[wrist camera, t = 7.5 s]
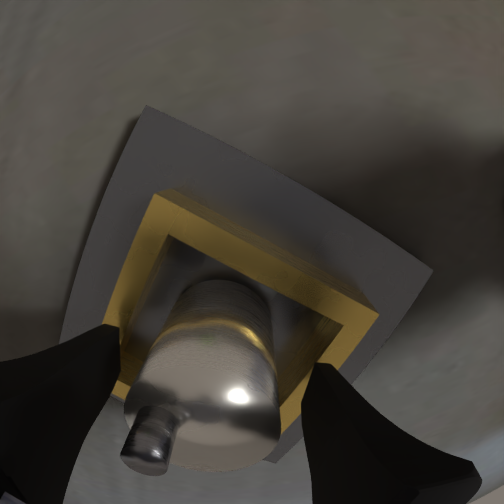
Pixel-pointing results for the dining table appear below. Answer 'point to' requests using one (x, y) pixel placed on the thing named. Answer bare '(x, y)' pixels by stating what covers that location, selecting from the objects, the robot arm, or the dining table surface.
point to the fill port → (236, 259)
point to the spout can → (206, 386)
